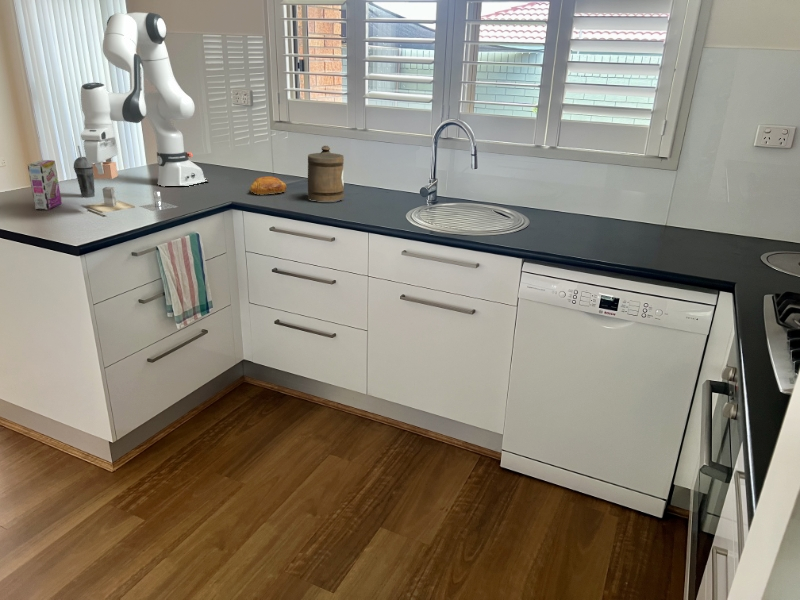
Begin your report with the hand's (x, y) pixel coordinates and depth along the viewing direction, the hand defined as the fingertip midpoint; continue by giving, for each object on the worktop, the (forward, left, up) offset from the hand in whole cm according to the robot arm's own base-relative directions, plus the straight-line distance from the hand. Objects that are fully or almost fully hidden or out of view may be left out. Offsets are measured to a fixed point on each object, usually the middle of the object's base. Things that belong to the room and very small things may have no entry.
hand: (105, 172), depth 213 cm
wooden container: (-73, +37, -15) cm, 83 cm away
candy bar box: (+13, -21, -15) cm, 29 cm away
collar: (0, 0, -2) cm, 2 cm away
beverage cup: (-5, -29, -15) cm, 33 cm away
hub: (0, 0, -14) cm, 14 cm away
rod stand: (-13, +10, -14) cm, 22 cm away
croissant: (-64, +11, -15) cm, 66 cm away
